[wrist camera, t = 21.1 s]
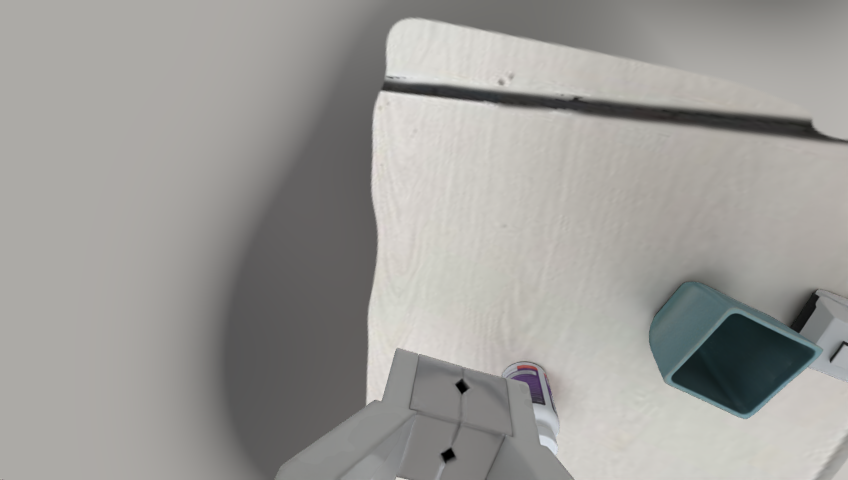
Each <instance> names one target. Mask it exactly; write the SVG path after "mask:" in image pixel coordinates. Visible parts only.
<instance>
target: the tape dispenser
mask: <svg viewBox="0 0 848 480" xmlns="http://www.w3.org/2000/svg"><path fill="white" fill-rule="evenodd" d="M791 329H792V330H794V331H796V332H797V333H799V334H800V335H802V336H804V337H805V338H807V339H808V340H810V341H812V342H813V343H815V344H816V345H818V346H820V347H821V348H822V349H823V352H822V353H821V355H820V356H819V357H818V358H817V359H816V360H815V361H814V362H813V363H812V364H811V365H809V366H808V368H811V369H814V370H817V371H820V372H822V373H825V374H827V375H830V376H832V377H835V378H837V379H840V380H842V381H846V382H848V299H846V298H844V297H841V296H839V295H836V294H833V293H830V292H827V291H825V290H821V289H820V290H817V291H816V293H813V295H812V296H811V298H810V299H809V301H808V302H807V304H806V306H805V307H804V309H803V310H802V312H801V313H800V315H799V316H798V318H797V319H796V321H795V322H794V324H793V325H792V327H791Z"/></svg>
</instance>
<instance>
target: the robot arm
mask: <svg viewBox="0 0 848 480" xmlns="http://www.w3.org/2000/svg"><path fill="white" fill-rule="evenodd" d="M396 477H400V478H404V479H408V480H574V478H573V477H572V476H571V475H570V473H569V472H568V471H567V470H566V468H565V467H564V466H563V465H562V464H561V462H560V461H559V460H558V459H557V457H556V456H555V455H554V454H553V452H552V451H551V450H550V449H549V448H548V447H547V446H544V445H541V444H540V439H539V434H538V429H537V424H536V419H535V414H534V409H533V404H532V399H531V394H530V389H529V385H528V384H527V383H526V382H522V381H518V380H514V379H510V378H506V377H504V378H503V377H499V376H496V375H492V374H488V373H484V372H480V371H477V370H473V369H469V368H465V367H462V366H459V365H455V364H452V363H449V362H445V361H442V360H438V359H435V358H432V357H428V356H425V355H422V354H419V356H418V354H417V353H414V352H410V351H407V350H403V349H400V348H397V349H396V351H395V355H394V358H393V362H392V366H391V369H390V373H389V377H388V380H387V384H386V388H385V391H384V395H383V399H382V401H378V400H374V401H373V402H371V403H370V404H368V405H367V406H365V407H364V408H363V409H361V410H360V411H358V412H357V413H355V414H354V415H353V416H351V417H350V418H348V419H347V420H345V421H344V422H343V423H341V424H340V425H338V426H337V427H336V428H334V429H333V430H331V431H330V432H328V433H327V434H326V435H324V436H323V437H321V438H320V439H318V440H317V441H316V442H314V443H313V444H311V445H310V446H308V447H307V448H306V449H304V450H303V451H301V452H300V453H298V454H297V455H296V456H294V457H293V458H291V459H290V460H288V461H287V462H286V463H284V464H283V465H282V466H281V467H280V469H279V471H278V473H277V475H276V477H275V479H274V480H395V479H396ZM0 480H3V479H0Z"/></svg>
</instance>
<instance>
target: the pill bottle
mask: <svg viewBox="0 0 848 480" xmlns="http://www.w3.org/2000/svg"><path fill="white" fill-rule="evenodd" d="M502 377H503V378H504V377H506V378H510V379H514V380H518V381H522V382H526V383H527V384H528V385H529V389H530V394H531V399H532V404H533V409H534V414H535V419H536V424H537V429H538V434H539V439H540V444H541V445H544V446H547V447H548V448H549V449H550V450H551V451H552V452H553V454H554V455H555V456H556V455H557V452H558V446H557V441H556V436H557V435H558V432H559V427H560V425H559V419H558V415H557V412H556V408H555V404H554V400H553V396H552V393H551V389H550V385H549V382H548V378H547V375H546V373H545V372H544V371H543V369H542V368H540V367H539V366H537V365H535V364H533V363H528V362H520V363H515V364H513V365H511V366H509V367H508V368H507V369H506V370H505V371H504V373H503V375H502Z"/></svg>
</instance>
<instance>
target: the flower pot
mask: <svg viewBox="0 0 848 480" xmlns="http://www.w3.org/2000/svg"><path fill="white" fill-rule="evenodd" d="M649 343H650V347H651V351H652V353H653V356H654V358H655V361H656V363H657V365H658V368H659V370H660V373H661V375H662V377H663V380H664V382H665V383H666V384H668V385H670V386H672V387H674V388H677V389H679V390H681V391H683V392H686V393H688V394H690V395H692V396H694V397H696V398H699V399H701V400H703V401H705V402H707V403H709V404H712V405H714V406H716V407H718V408H720V409H722V410H724V411H727V412H729V413H731V414H733V415H735V416H737V417H740V418H743V419H748V418H749V417H751V416H752V415H754V414H755V413H757V412H758V411H759V410H760V409H761V408H762V407H763V406H764V405H765V404H766V403H767V402H768V401H769V400H770V399H772V398H773V397H774V396H775V395H776V394H777V393H778V392H780V390H782V389H783V388H784V387H785V386H786V385H787V384H788V383H790V382H791V381H792V380H793V379H794V378H795V377H797V376H798V375H799V374H800V373H801V372H802V371H803V370H805V369H806V368H807V367H808V366H809V365H811V364H812V363H813V362H814V361H815V360H816V359H817V358H818V357H819V356H820V355H821V353H822V352H823V349H822V348H821V347H820V346H818V345H816V344H815V343H813V342H812V341H810V340H808V339H807V338H805V337H804V336H802V335H800V334H799V333H797V332H796V331H794V330H792V329H791V328H789V327H788V326H786V325H784V324H783V323H781V322H779V321H778V320H776V319H774V318H773V317H771V316H769V315H767V314H765V313H763V312H760V311H758V310H756V309H754V308H752V307H750V306H747V305H745V304H743V303H741V302H739V301H737V300H735V299H733V298H731V297H729V296H727V295H725V294H723V293H721V292H719V291H717V290H715V289H713V288H711V287H709V286H707V285H704V284H702V283H698V282H686V283H683V284H682V285H681V286H680V287H679V288H678V289H677V291H676V292H675V293H674V294H673V295H672V297H671V298H670V299H669V300H668V302H667V303H666V304H665V305H664V306H663V307H662V308H661V310H660V311H659V312H658V313H657V314H656V316H655V317H654V319H653V321H652V324H651V327H650V331H649Z"/></svg>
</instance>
